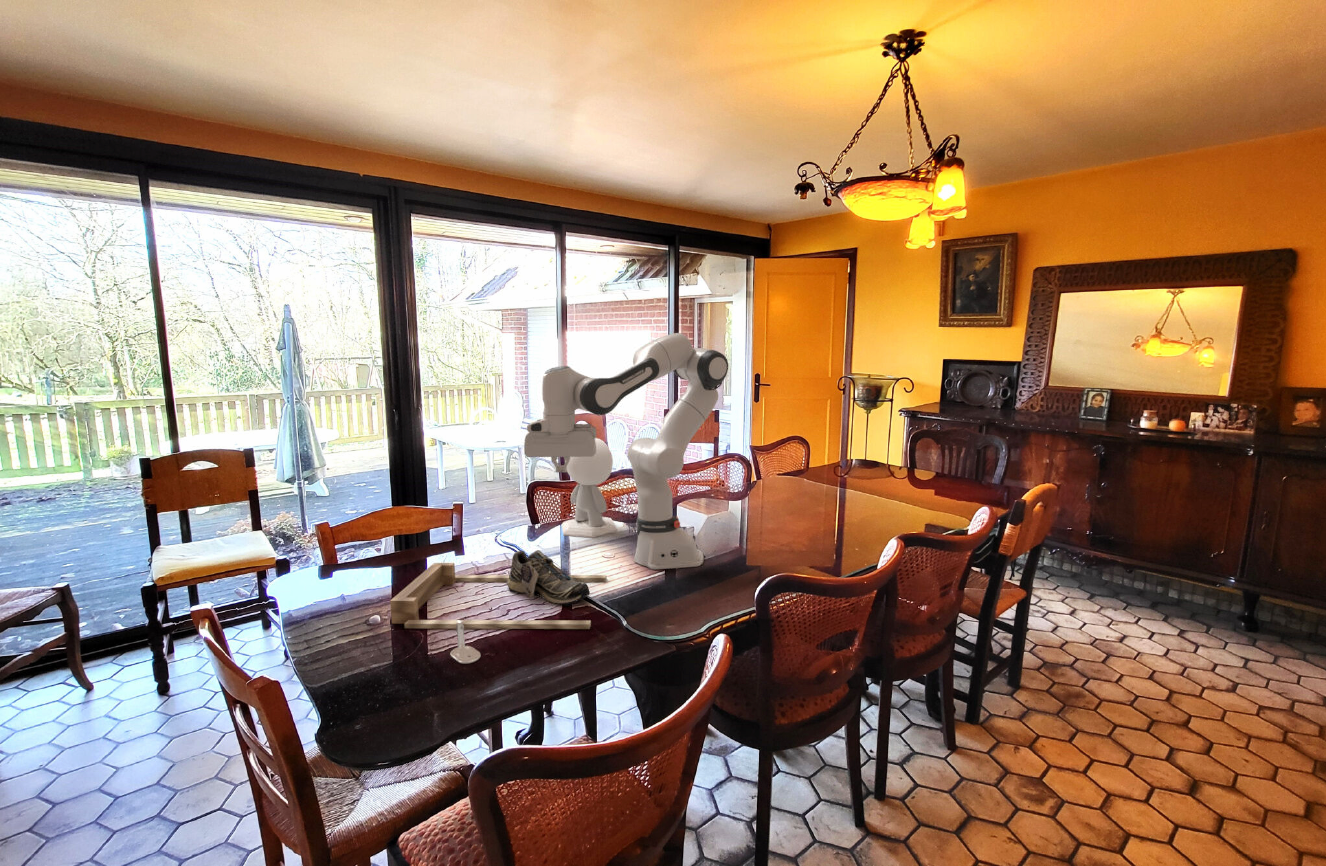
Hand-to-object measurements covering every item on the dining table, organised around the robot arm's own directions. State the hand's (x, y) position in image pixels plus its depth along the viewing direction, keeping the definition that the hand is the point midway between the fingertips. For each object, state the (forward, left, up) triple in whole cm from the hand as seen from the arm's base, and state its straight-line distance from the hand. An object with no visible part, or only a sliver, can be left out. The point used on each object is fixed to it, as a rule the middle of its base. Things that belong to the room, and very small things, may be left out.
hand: (561, 472), depth 166 cm
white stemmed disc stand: (+14, +42, -33) cm, 55 cm away
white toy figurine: (+1, -51, -33) cm, 61 cm away
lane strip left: (+11, +28, -33) cm, 45 cm away
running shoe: (+4, +9, -33) cm, 35 cm away
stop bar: (+36, +14, -33) cm, 51 cm away
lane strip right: (+11, -1, -33) cm, 35 cm away
